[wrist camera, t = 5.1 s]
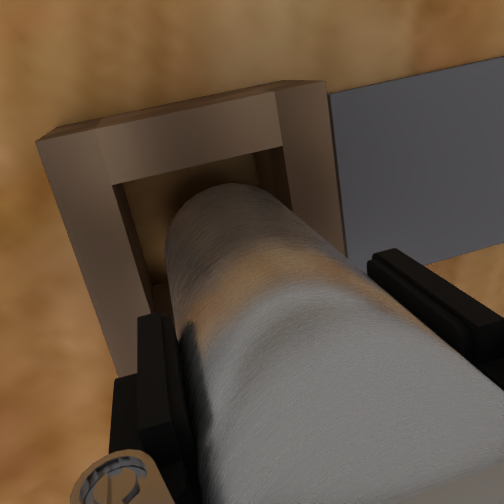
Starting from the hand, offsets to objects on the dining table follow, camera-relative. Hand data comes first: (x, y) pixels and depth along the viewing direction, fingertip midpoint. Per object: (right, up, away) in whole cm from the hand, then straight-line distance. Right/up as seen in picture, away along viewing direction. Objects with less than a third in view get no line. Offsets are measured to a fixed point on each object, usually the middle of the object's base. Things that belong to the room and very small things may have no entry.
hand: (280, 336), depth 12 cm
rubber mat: (+9, +6, +13) cm, 17 cm away
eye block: (-3, +4, +11) cm, 12 cm away
